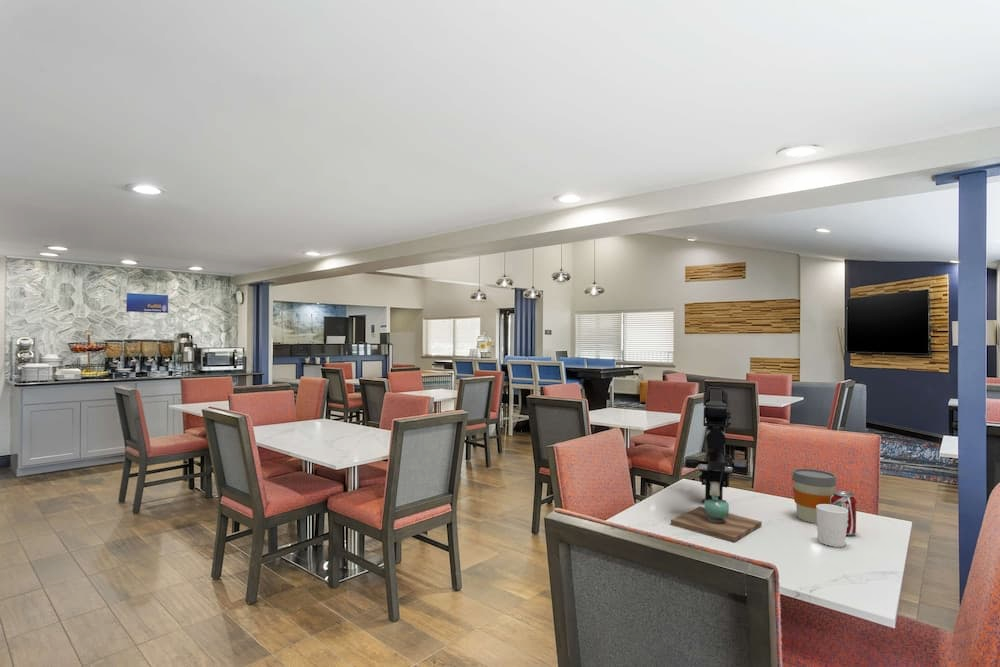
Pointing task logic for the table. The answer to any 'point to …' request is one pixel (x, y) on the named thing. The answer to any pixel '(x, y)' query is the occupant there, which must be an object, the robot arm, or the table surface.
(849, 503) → the soda can
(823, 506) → the white cup
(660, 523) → the table surface
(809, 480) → the reusable coffee cup
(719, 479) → the robot arm
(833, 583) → the table surface
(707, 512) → the teal bulbous piece
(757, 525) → the brown wooden cutting board
